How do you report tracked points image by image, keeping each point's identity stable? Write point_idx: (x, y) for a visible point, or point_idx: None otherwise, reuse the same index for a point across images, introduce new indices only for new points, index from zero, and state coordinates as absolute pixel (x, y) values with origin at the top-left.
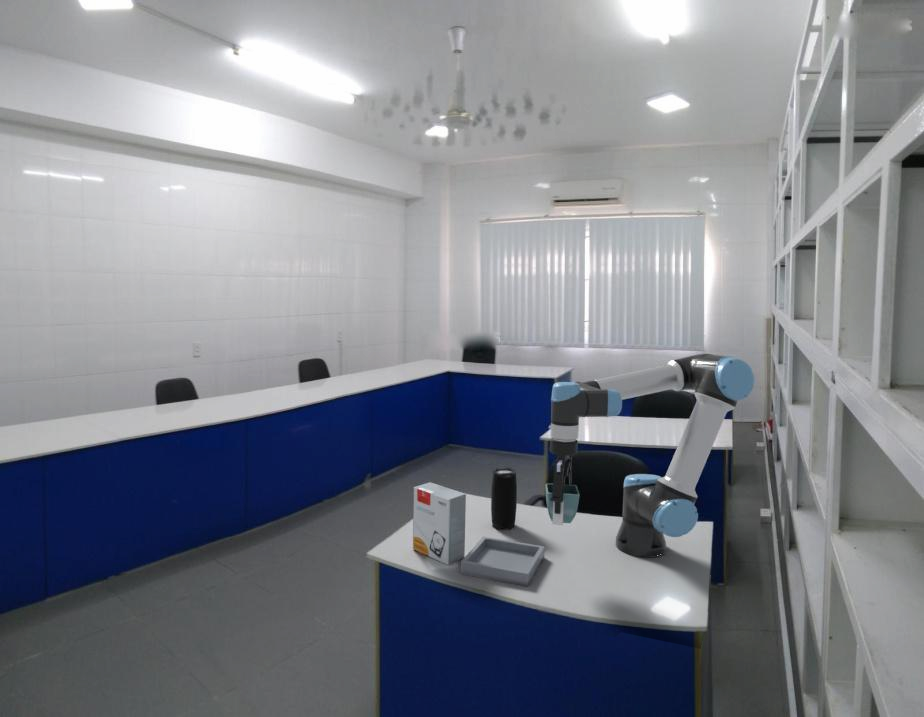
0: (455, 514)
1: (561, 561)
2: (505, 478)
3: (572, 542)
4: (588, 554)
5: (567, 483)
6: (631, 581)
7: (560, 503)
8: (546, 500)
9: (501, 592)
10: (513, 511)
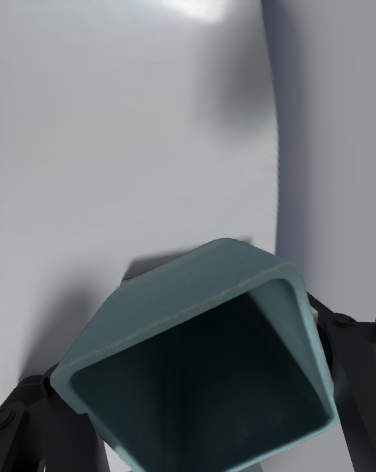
0: (245, 468)
1: (116, 249)
2: None
3: (10, 265)
4: (46, 216)
5: (93, 436)
6: (115, 91)
7: (322, 316)
8: (197, 385)
9: None
10: None
